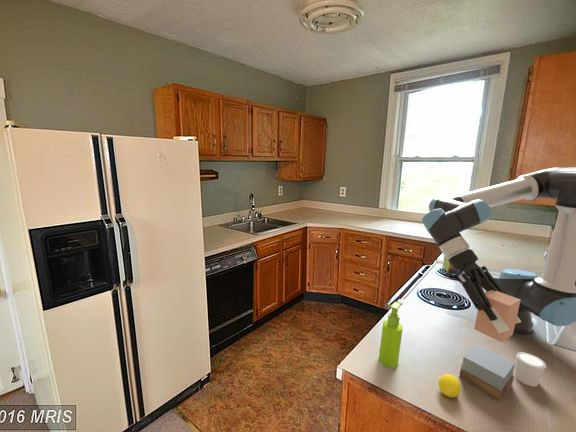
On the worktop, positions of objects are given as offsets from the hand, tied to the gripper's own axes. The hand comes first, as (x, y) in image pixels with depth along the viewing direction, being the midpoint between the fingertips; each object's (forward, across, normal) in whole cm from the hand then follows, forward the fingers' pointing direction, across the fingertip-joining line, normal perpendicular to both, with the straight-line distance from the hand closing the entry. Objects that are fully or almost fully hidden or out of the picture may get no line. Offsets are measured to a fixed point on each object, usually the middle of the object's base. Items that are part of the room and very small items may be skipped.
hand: (510, 327), depth 76 cm
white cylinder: (+17, -13, -12) cm, 25 cm away
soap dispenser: (-2, +18, -31) cm, 36 cm away
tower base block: (+12, -1, -17) cm, 21 cm away
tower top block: (+10, 0, -14) cm, 17 cm away
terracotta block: (0, 0, -5) cm, 5 cm away
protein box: (-24, -84, -53) cm, 102 cm away
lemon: (+10, +14, -19) cm, 26 cm away
